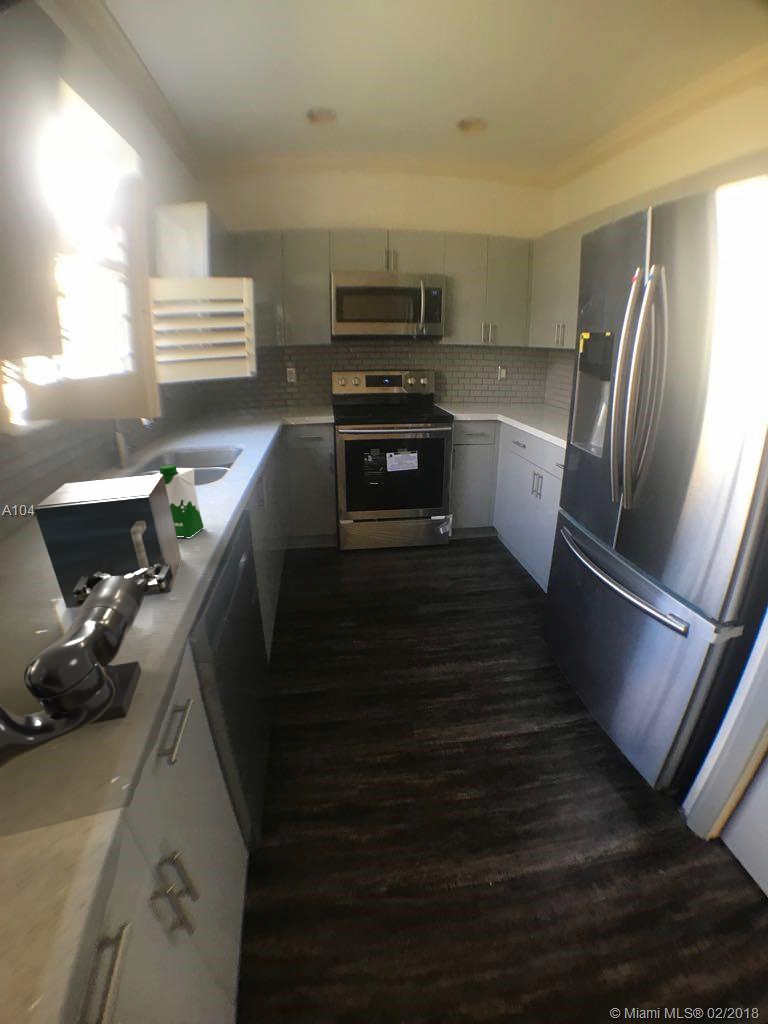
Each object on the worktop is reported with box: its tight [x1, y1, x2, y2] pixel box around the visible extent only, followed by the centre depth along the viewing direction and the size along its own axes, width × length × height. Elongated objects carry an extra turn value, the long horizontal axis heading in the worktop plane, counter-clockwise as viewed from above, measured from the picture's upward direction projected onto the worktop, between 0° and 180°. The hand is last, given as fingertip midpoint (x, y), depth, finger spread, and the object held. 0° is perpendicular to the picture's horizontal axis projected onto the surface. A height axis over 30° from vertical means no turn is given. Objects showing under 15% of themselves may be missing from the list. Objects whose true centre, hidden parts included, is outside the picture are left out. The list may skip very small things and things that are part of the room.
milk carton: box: [154, 463, 205, 537], centre depth 125 cm, size 9×9×20 cm
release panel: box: [87, 660, 142, 726], centre depth 69 cm, size 10×10×4 cm
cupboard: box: [35, 474, 182, 590], centre depth 100 cm, size 15×20×22 cm
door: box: [33, 495, 172, 608], centre depth 90 cm, size 6×20×22 cm, turn 105°
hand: (135, 563), depth 85 cm, fingers open, 8 cm apart
